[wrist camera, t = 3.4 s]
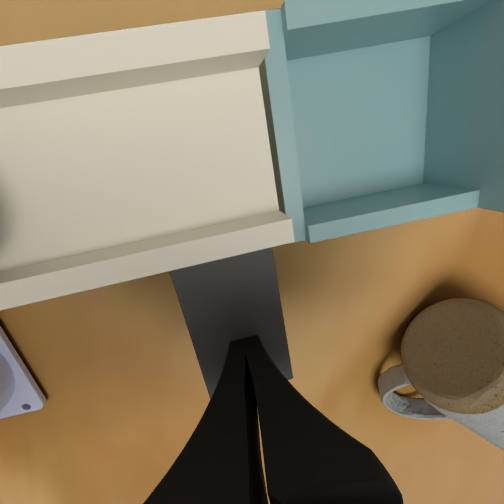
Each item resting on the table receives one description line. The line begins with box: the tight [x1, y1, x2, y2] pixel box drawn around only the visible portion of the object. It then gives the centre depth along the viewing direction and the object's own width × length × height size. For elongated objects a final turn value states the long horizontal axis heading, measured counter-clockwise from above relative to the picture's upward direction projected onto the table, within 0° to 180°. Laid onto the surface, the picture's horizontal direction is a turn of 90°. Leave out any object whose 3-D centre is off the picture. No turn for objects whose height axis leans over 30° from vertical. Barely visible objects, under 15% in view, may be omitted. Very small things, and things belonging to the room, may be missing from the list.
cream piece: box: [0, 10, 295, 399], centre depth 9 cm, size 14×14×4 cm
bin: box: [259, 0, 504, 243], centre depth 11 cm, size 10×9×6 cm
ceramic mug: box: [378, 298, 504, 450], centre depth 17 cm, size 11×8×8 cm
